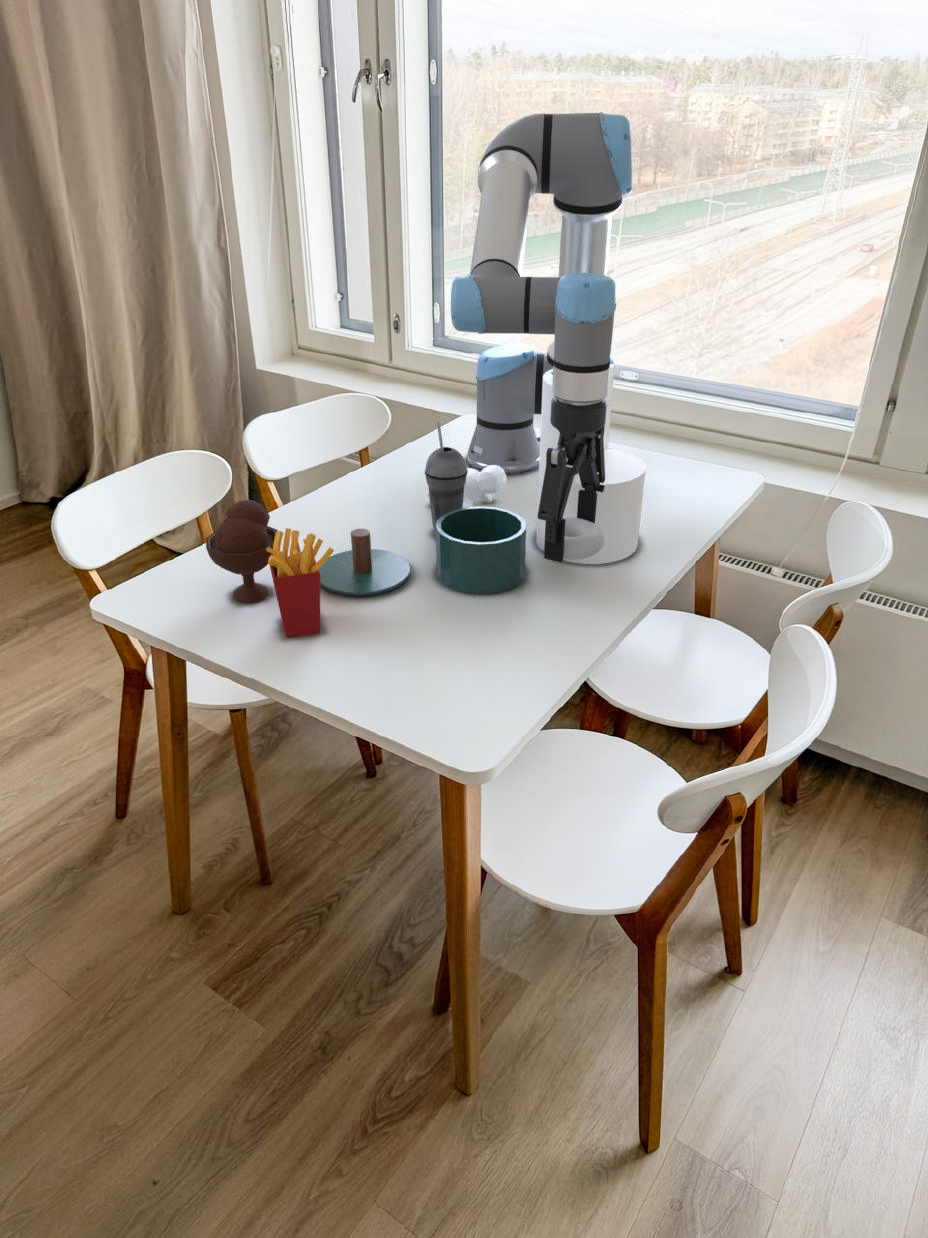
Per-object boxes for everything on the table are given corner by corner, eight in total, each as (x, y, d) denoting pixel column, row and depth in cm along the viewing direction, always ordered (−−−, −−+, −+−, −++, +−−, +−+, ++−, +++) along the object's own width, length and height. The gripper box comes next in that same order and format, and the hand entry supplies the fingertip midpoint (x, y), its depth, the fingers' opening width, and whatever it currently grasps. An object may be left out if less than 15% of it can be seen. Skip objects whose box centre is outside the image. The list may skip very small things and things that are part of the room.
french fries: (279, 642, 123) (267, 545, 115) (273, 613, 129) (260, 520, 122) (342, 632, 125) (333, 537, 117) (332, 605, 132) (324, 513, 124)
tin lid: (355, 547, 148) (352, 505, 145) (428, 568, 142) (427, 525, 138) (296, 583, 138) (291, 539, 134) (372, 608, 131) (369, 562, 127)
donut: (545, 530, 136) (527, 557, 127) (547, 509, 134) (528, 535, 126) (609, 540, 133) (595, 568, 125) (611, 519, 131) (596, 546, 123)
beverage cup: (463, 544, 149) (462, 430, 139) (421, 541, 150) (418, 428, 140) (471, 526, 155) (471, 416, 145) (431, 523, 157) (428, 414, 146)
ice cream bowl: (224, 577, 139) (209, 489, 132) (293, 578, 139) (283, 490, 131) (204, 611, 130) (188, 518, 122) (279, 612, 130) (267, 519, 122)
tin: (465, 546, 149) (465, 499, 144) (540, 566, 142) (542, 518, 138) (419, 579, 138) (417, 530, 134) (497, 603, 132) (498, 552, 128)
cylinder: (520, 552, 147) (526, 385, 132) (556, 513, 160) (564, 358, 146) (620, 572, 140) (637, 399, 126) (649, 530, 154) (667, 370, 139)
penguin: (433, 524, 163) (501, 511, 155) (417, 481, 160) (486, 465, 152) (455, 508, 170) (521, 494, 161) (440, 466, 167) (507, 450, 159)
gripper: (589, 372, 128) (579, 512, 140) (514, 415, 112) (510, 569, 123) (637, 380, 125) (623, 522, 136) (567, 425, 108) (558, 583, 120)
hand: (569, 545), depth 130 cm, fingers closed on donut, 10 cm apart
